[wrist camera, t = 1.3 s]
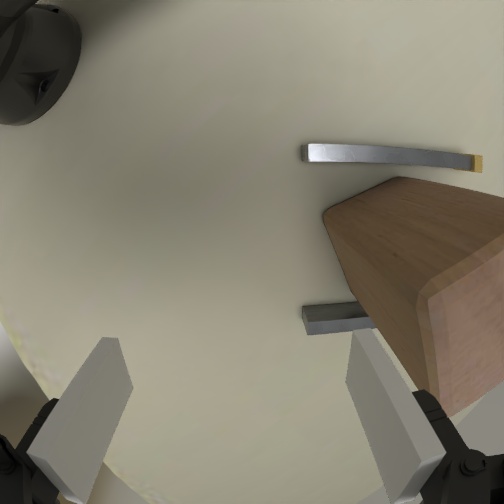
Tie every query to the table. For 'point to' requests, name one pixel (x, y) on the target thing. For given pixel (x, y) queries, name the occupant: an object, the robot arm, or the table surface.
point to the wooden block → (429, 280)
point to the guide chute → (352, 313)
